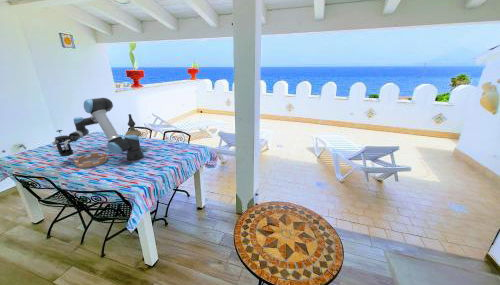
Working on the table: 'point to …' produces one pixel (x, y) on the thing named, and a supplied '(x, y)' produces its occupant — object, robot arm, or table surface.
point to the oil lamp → (132, 128)
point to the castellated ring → (90, 160)
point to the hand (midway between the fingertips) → (58, 143)
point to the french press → (64, 150)
